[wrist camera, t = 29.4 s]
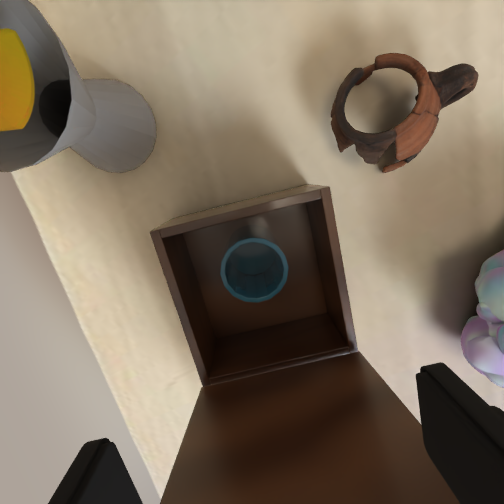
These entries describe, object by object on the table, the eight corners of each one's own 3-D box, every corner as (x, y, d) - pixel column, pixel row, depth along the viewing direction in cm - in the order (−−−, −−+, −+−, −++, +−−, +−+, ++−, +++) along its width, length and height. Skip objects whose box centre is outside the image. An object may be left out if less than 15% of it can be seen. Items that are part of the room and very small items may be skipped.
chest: (172, 218, 31) (149, 231, 24) (308, 184, 31) (329, 186, 23) (212, 342, 35) (203, 387, 27) (333, 313, 34) (358, 352, 27)
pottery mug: (361, 195, 31) (354, 174, 24) (323, 126, 33) (305, 86, 26) (483, 130, 27) (522, 79, 20) (431, 55, 29) (448, -17, 22)
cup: (228, 222, 31) (223, 234, 24) (282, 227, 31) (292, 241, 24) (223, 273, 32) (218, 299, 25) (275, 278, 32) (283, 305, 26)
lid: (114, 626, 11) (151, 746, 11) (523, 545, 10) (549, 674, 10) (201, 386, 27) (215, 438, 27) (359, 350, 26) (371, 403, 27)
